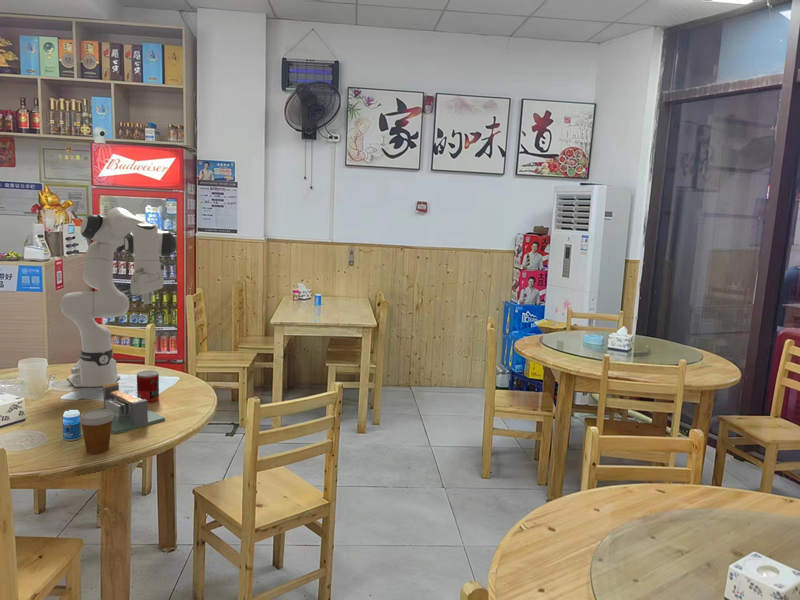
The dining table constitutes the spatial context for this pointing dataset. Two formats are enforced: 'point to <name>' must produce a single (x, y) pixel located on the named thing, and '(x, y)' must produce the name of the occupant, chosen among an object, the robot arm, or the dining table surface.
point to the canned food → (148, 386)
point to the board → (128, 423)
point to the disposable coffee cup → (96, 430)
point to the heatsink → (119, 409)
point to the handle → (123, 396)
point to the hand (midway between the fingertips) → (147, 303)
